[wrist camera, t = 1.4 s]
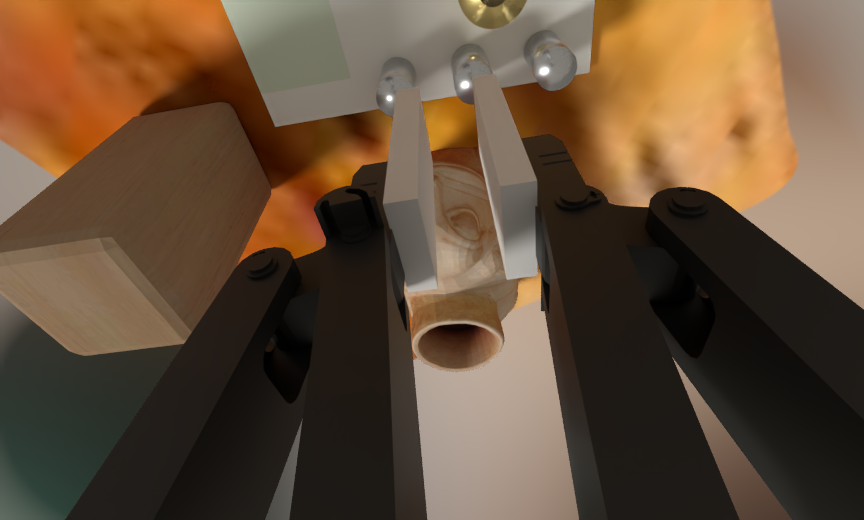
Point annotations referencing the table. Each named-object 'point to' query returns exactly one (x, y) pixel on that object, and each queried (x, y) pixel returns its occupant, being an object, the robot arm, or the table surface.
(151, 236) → the wooden block
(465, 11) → the brass round knob
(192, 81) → the table surface
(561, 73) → the spacers
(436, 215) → the ceramic vessel
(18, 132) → the table surface
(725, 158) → the table surface
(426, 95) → the board
